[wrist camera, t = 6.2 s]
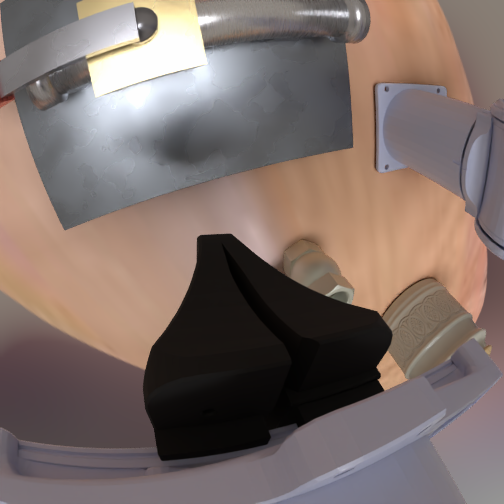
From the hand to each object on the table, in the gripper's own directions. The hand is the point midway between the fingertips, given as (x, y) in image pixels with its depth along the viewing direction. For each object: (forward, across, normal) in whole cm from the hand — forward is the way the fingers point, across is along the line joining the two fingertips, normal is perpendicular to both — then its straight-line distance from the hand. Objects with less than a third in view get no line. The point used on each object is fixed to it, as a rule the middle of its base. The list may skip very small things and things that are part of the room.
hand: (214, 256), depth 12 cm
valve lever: (+4, +8, -8) cm, 12 cm away
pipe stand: (+10, +1, -9) cm, 13 cm away
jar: (+10, -32, +19) cm, 39 cm away
